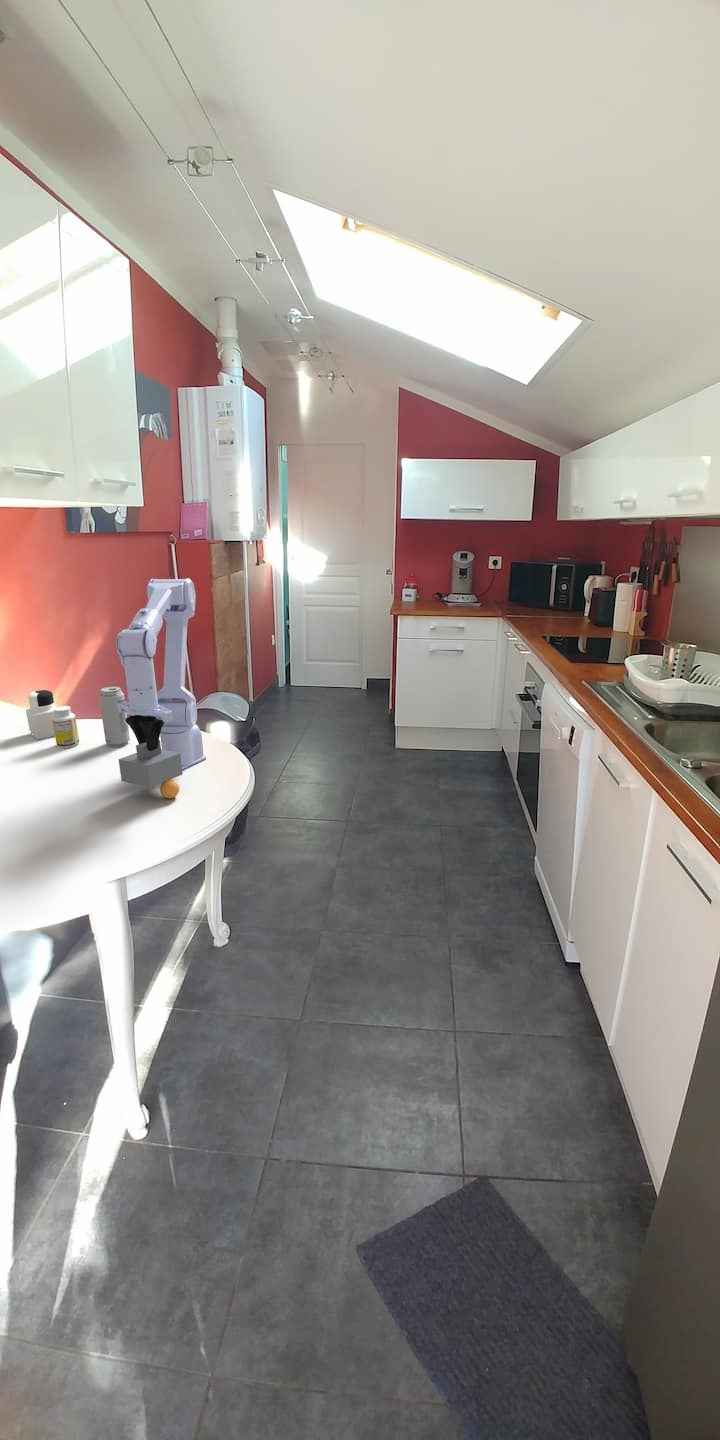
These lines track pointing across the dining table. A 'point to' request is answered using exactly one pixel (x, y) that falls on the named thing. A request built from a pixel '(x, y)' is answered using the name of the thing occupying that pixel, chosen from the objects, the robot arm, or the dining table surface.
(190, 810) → the dining table surface
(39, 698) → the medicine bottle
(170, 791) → the ball
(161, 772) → the grey stepped block
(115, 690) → the energy drink can
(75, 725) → the supplement bottle
